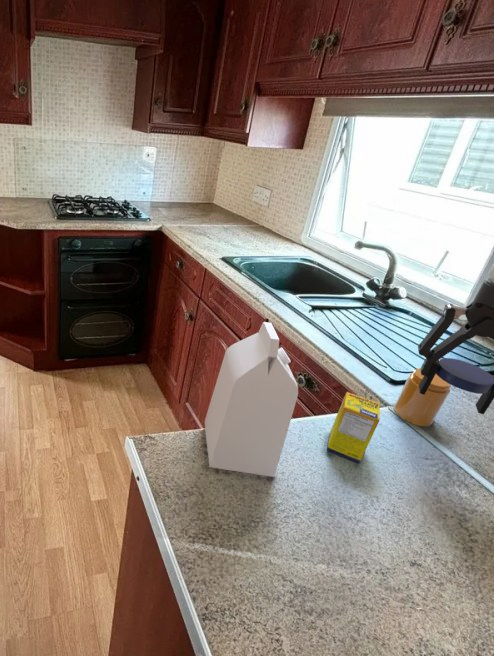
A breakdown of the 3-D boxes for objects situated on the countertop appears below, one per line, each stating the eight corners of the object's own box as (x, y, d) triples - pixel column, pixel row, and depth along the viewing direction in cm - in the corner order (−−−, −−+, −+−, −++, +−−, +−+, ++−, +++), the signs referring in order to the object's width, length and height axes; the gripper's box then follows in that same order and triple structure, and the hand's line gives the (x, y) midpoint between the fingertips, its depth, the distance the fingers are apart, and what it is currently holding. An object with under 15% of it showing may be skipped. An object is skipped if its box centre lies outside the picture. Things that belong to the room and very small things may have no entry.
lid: (498, 387, 70) (504, 378, 69) (478, 399, 66) (484, 390, 66) (446, 362, 76) (451, 354, 76) (425, 371, 73) (430, 363, 72)
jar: (430, 412, 94) (450, 375, 89) (433, 431, 88) (455, 392, 83) (392, 399, 97) (410, 363, 92) (393, 417, 91) (412, 379, 86)
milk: (204, 421, 84) (230, 310, 72) (260, 430, 83) (296, 318, 72) (209, 467, 73) (241, 344, 61) (274, 477, 72) (318, 354, 61)
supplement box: (360, 445, 82) (380, 402, 77) (359, 464, 77) (380, 420, 72) (328, 432, 84) (346, 390, 79) (325, 450, 79) (344, 406, 75)
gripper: (595, 297, 62) (517, 412, 72) (434, 262, 71) (384, 369, 81) (618, 313, 56) (529, 437, 66) (439, 273, 65) (384, 387, 75)
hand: (449, 399), depth 73 cm, fingers closed on lid, 8 cm apart
